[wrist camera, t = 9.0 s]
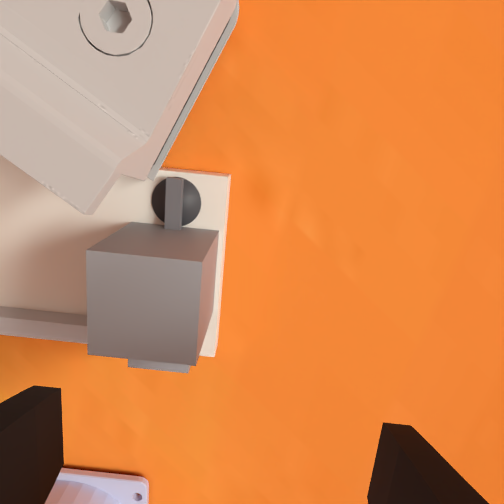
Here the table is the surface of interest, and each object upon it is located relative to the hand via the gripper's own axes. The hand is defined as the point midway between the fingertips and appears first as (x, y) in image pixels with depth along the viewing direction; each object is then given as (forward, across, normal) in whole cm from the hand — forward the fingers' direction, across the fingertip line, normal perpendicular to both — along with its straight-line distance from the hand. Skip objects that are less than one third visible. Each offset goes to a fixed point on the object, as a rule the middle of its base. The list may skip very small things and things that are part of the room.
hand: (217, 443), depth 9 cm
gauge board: (+10, +12, -1) cm, 16 cm away
